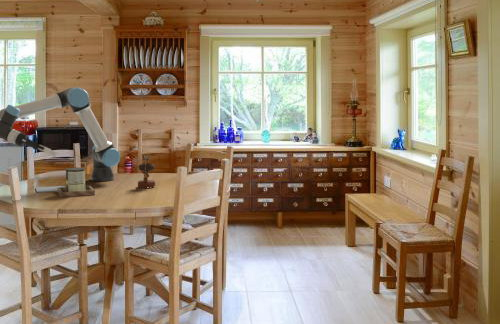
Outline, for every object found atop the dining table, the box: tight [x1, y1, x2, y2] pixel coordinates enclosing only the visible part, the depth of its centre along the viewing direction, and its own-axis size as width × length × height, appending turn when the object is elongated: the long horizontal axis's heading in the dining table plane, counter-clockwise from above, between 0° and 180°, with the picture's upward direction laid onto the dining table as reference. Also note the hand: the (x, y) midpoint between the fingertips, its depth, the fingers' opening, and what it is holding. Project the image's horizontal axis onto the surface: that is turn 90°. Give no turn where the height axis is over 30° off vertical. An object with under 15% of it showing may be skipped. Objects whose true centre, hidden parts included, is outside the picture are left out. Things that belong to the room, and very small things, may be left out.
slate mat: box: [35, 185, 66, 194], centre depth 300 cm, size 16×16×1 cm
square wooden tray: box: [57, 185, 96, 198], centre depth 289 cm, size 18×18×2 cm
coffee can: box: [65, 167, 86, 192], centre depth 288 cm, size 10×10×14 cm
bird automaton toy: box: [137, 154, 156, 189], centre depth 312 cm, size 15×11×20 cm
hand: (53, 153), depth 293 cm, fingers open, 13 cm apart
